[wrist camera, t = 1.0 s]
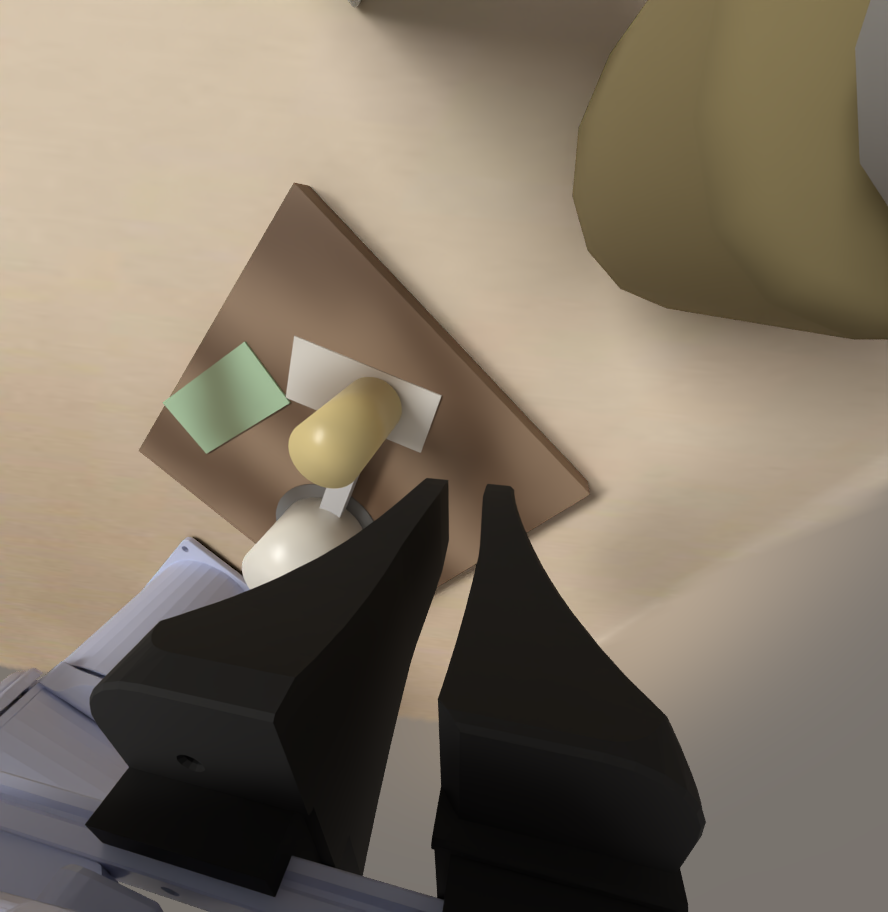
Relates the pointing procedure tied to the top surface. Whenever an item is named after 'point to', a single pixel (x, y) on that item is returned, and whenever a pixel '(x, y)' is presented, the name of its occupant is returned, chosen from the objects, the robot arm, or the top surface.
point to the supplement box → (354, 2)
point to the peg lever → (326, 478)
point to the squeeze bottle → (745, 162)
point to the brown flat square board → (328, 373)
